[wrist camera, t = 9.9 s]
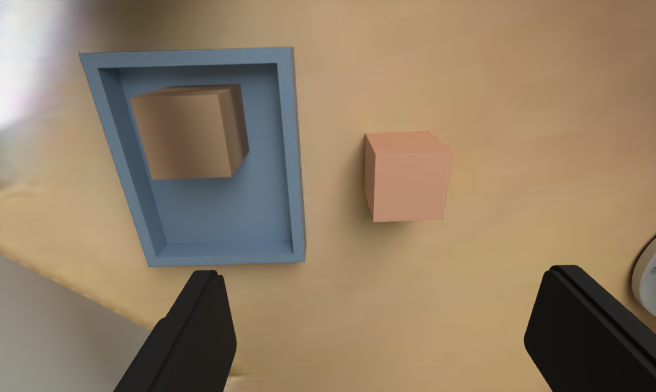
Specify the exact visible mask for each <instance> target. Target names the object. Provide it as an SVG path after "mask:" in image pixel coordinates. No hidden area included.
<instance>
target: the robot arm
mask: <svg viewBox="0 0 656 392" xmlns="http://www.w3.org/2000/svg"><path fill="white" fill-rule="evenodd" d="M632 291H633V295H634V297H635V299H636V300H637V302H638V303H639V304H640V305H641V306H642V307H644V308H645V309H646V310H647V311H648V312H649V313H651V314H652V315H654V316H655V317H656V238H655V239H654V240H653V241H652V242H651V243H650V244H649V245H648V247H647V248H646V249H645V251H644V252H643V253H642V255H641V256H640V258H639V260H638V262H637V264H636V266H635V269H634V272H633V275H632ZM524 345H525V348H526V350H527V352H528V354H529V355H530V357H531V358H532V360H533V361H534V363H535V365H536V366H537V368H538V369H539V371H540V372H541V374H542V376H543V377H544V379H545V380H546V382H547V383H548V385H549V387H550V388H551V390H552V391H553V392H656V334H655V333H654V332H652V331H651V330H650V329H649V328H648V327H647V326H646V325H645V324H643V323H642V322H641V321H640V320H639V319H638V318H637V317H636V316H634V315H633V314H632V313H631V312H630V311H629V310H628V309H627V308H625V307H624V306H623V305H622V304H621V303H620V302H619V301H618V300H616V299H615V298H614V297H613V296H612V295H611V294H610V293H609V292H607V291H606V290H605V289H604V288H603V287H602V286H601V285H600V284H598V283H597V282H596V281H595V280H594V279H593V278H592V277H591V276H589V275H588V274H587V273H586V272H585V271H584V270H583V269H582V268H580V267H579V266H576V265H554V266H552V267H551V268H550V269H549V271H546V272H545V273H544V275H543V278H542V282H541V285H540V288H539V291H538V294H537V297H536V301H535V304H534V307H533V310H532V313H531V317H530V320H529V323H528V326H527V329H526V333H525V336H524ZM236 346H237V341H236V336H235V331H234V326H233V321H232V316H231V311H230V307H229V302H228V297H227V292H226V287H225V282H224V278H223V276H222V275H218V274H217V272H216V271H215V270H196V271H194V272H193V274H192V275H191V277H190V278H189V280H188V282H187V283H186V285H185V286H184V288H183V290H182V291H181V293H180V294H179V296H178V298H177V299H176V301H175V303H174V304H173V306H172V307H171V309H170V311H169V312H168V314H167V315H166V317H165V318H162V319H161V320H159V322H158V323H157V324H156V325H155V327H154V329H153V330H152V332H151V333H150V335H149V336H148V338H147V339H146V341H145V343H144V345H143V346H142V347H141V349H140V350H139V352H138V354H137V355H136V357H135V358H134V360H133V361H132V363H131V365H130V366H129V368H128V369H127V371H126V372H125V374H124V376H123V377H122V379H121V380H120V382H119V383H118V385H117V387H116V388H115V390H114V391H113V392H223V390H224V387H225V384H226V381H227V378H228V375H229V371H230V368H231V365H232V362H233V359H234V356H235V352H236Z"/></svg>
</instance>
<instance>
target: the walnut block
mask: <svg viewBox="0 0 656 392" xmlns="http://www.w3.org/2000/svg"><path fill="white" fill-rule="evenodd" d="M129 99H130V102H131V106H132V109H133V113H134V116H135V120H136V123H137V127H138V130H139V134H140V137H141V141H142V144H143V148H144V152H145V155H146V159H147V162H148V166H149V169H150V173H151V176H152V180H154V179H185V178H216V177H232V176H233V174H234V173H235V171H236V170H237V168H238V167H239V165H240V164H241V162H242V161H243V159H244V158H245V156H246V155H247V154H248V152H249V144H248V136H247V129H246V122H245V115H244V107H243V100H242V93H241V86H240V84H222V85H190V86H170V87H166V88H162V89H159V90H155V91H152V92H148V93H145V94H141V95H138V96H134V97H130V98H129Z"/></svg>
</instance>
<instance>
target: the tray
mask: <svg viewBox="0 0 656 392" xmlns="http://www.w3.org/2000/svg"><path fill="white" fill-rule="evenodd" d="M79 56H80V59H81V62H82V65H83V68H84V72H85V75H86V78H87V81H88V84H89V87H90V90H91V93H92V96H93V99H94V102H95V105H96V108H97V111H98V114H99V117H100V120H101V123H102V126H103V129H104V132H105V136H106V139H107V142H108V145H109V148H110V151H111V154H112V157H113V160H114V163H115V166H116V169H117V172H118V175H119V178H120V181H121V184H122V187H123V190H124V193H125V196H126V199H127V203H128V206H129V209H130V212H131V215H132V218H133V221H134V224H135V227H136V230H137V233H138V236H139V239H140V242H141V245H142V248H143V251H144V254H145V257H146V260H147V263H148V266H149V267H164V266H195V265H227V264H258V263H290V262H305V254H306V231H305V216H304V201H303V185H302V170H301V155H300V140H299V125H298V110H297V94H296V79H295V64H294V49H293V47H271V48H237V49H203V50H169V51H135V52H102V53H79ZM222 84H240V86H241V93H242V100H243V107H244V115H245V122H246V129H247V136H248V144H249V152H248V154H247V155H246V156H245V158H244V159H243V161H242V162H241V164H240V165H239V167H238V168H237V170H236V171H235V173H234V174H233V176H232V177H216V178H185V179H154V180H152V176H151V173H150V169H149V166H148V162H147V159H146V155H145V152H144V148H143V144H142V141H141V137H140V134H139V130H138V127H137V123H136V120H135V116H134V113H133V109H132V106H131V102H130V99H129V98H130V97H134V96H138V95H141V94H145V93H148V92H152V91H155V90H159V89H162V88H166V87H170V86H190V85H222Z"/></svg>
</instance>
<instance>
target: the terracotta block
mask: <svg viewBox="0 0 656 392" xmlns="http://www.w3.org/2000/svg"><path fill="white" fill-rule="evenodd" d="M452 157H453V151H451V150H450V149H449V148H448V147H447V146H445V145H444V144H443V143H442V142H440V141H439V140H438V139H437V138H436V137H434V136H433V135H432V134H431V133H429V132H428V131H418V132H387V133H365V171H364V192H365V195H366V199H367V202H368V206H369V209H370V212H371V216H372V219H373V222H391V221H421V220H444V213H445V206H446V199H447V192H448V185H449V178H450V171H451V164H452Z"/></svg>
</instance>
